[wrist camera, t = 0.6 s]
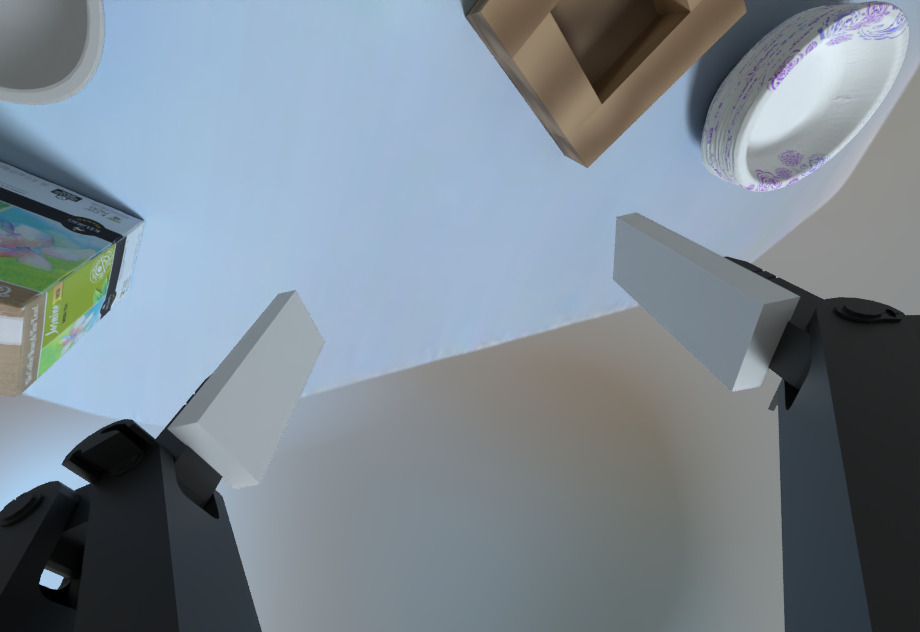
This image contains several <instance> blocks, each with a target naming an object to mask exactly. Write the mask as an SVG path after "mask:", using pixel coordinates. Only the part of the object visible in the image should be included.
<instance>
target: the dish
mask: <svg viewBox="0 0 920 632" xmlns="http://www.w3.org/2000/svg"><path fill="white" fill-rule="evenodd" d="M104 38H105V15H104V6H103V0H0V100H2V101H6V102H12V103H18V104H28V105H43V104H51V103H56V102H60V101H63V100H66V99H68V98H70V97H72V96H74V95H75V94H77V93H78V92H79V91H81V90H82V89H83V88H84V87H85V86H86V85H87V84H88V83H89V81H90V80H91V79H92V77H93V76H94V74H95V72H96V71H97V68H98V66H99V63H100V60H101V57H102V52H103V48H104Z"/></svg>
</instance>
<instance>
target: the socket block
mask: <svg viewBox="0 0 920 632" xmlns="http://www.w3.org/2000/svg"><path fill="white" fill-rule="evenodd" d="M746 12H747V10H746V6H745V1H744V0H477V1H476V2H475V4H474V5H473V6H472V8H471V9H470V11H469V12H468V13H467V15H466V16H465V17H466V19H467V20H468V22H469V23H470V24H471V26H472V27H473V28H474V30H475V31H476V33H477V34H478V35H479V37H480V38H481V40H482V41H483V42H484V44H485V45H486V47H487V48H488V49H489V51H490V52H491V54H492V55H493V56H494V58H495V59H496V60H497V62H498V63H499V65H500V66H501V67H502V69H503V70H504V72H505V73H506V74H507V76H508V77H509V79H510V80H511V81H512V83H513V84H514V86H515V87H516V88H517V90H518V91H519V92H520V94H521V95H522V97H523V98H524V99H525V101H526V102H527V104H528V105H529V106H530V108H531V109H532V111H533V112H534V113H535V115H536V116H537V118H538V119H539V120H540V122H541V123H542V124H543V126H544V127H545V129H546V130H547V131H548V133H549V134H550V136H551V137H552V138H553V140H554V141H555V143H556V144H557V145H558V147H559V148H560V150H561V151H562V152H563V154H564V155H565V156H567V157H569V158H570V159H572V160H574V161H576V162H578V163H579V164H581V165H583V166H585V167H587V168H588V167H589V166H590V165H591V164H592V163H593V162H594V161H595V160H596V159H597V158H598V157H599V156H600V155H601V154H602V153H603V152H604V151H605V150H606V149H607V148H608V147H609V146H610V145H611V144H613V143H614V142H615V141H616V140H617V139H618V138H619V137H620V136H621V135H622V134H623V133H624V132H625V131H626V130H627V129H628V128H629V127H630V126H631V125H632V124H633V123H634V122H635V121H636V120H637V119H638V118H639V117H640V116H641V115H642V114H643V113H644V112H645V111H646V110H647V109H648V108H649V107H650V106H651V105H652V104H653V103H654V102H655V101H656V100H657V99H658V98H659V97H660V96H662V95H663V94H664V93H665V92H666V91H667V90H668V89H669V88H670V87H671V86H672V85H673V84H674V83H675V82H676V81H677V80H678V79H679V78H680V77H681V76H682V75H683V74H684V73H685V72H686V71H687V70H688V69H689V68H690V67H691V66H692V65H693V64H694V63H695V62H696V61H697V60H698V59H699V58H700V57H701V56H702V55H703V54H704V53H705V52H706V51H707V50H708V49H709V48H711V47H712V46H713V45H714V44H715V43H716V42H717V41H718V40H719V39H720V38H721V37H722V36H723V35H724V34H725V33H726V32H727V31H728V30H729V29H730V28H731V27H732V26H733V25H734V24H735V23H736V22H737V21H738V20H739V19H740V18H741V17H742V16H743V15H744V14H745V13H746Z"/></svg>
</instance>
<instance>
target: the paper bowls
mask: <svg viewBox="0 0 920 632" xmlns="http://www.w3.org/2000/svg"><path fill="white" fill-rule="evenodd" d="M908 39H909V26H908V21H907V18H906V16H905V14H904V13H903V11H902V10H900V9H899V8H898V7H896V6H895V5H893V4H890V3H886V2H878V1H874V2H863V3H845V4H835V5H824V6H820V7H815V8H811V9H808V10H805V11H802V12H800V13H798V14H796V15H794V16H792V17H790V18H788V19H787V20H785V21H784V22H782V23H781V24H779V25H778V26H777V27H775V28H774V29H773V30H771V31H770V32H769V33H767V34H766V35H765V36H764V37H763V38H762V39H761V40H760V41H759V42H758V43H757V44H756V45H755V46H754V47H753V48H752V49H751V50H750V51H749V52H748V53H747V54H746V55H745V56H744V57H743V58H742V59H741V60H740V62H739V63H738V64H737V65H736V67H735V68H734V69H733V70H732V71H731V72H730V73H729V75H728V76H727V77H726V78H725V80H724V81H723V82H722V84H721V85H720V87H719V89H718V90H717V92H716V94H715V96H714V98H713V100H712V102H711V105H710V107H709V110H708V113H707V117H706V122H705V125H704V128H703V133H702V134H703V135H702V141H701V153H702V161H703V163H704V165H705V167H706V168H707V170H708V171H710V172H711V173H712V174H713V175H715V176H717V177H719V178H721V179H723V180H725V181H728V182H731V183H734V184H736V185H738V186H740V187H743V188H746V189H748V190H751V191H758V192H763V191H771V190H776V189H779V188H782V187H785V186H788V185H790V184H793V183H795V182H797V181H799V180H800V179H802V178H804V177H806V176H807V175H809V174H811V173H812V172H814V171H815V170H816V169H818V168H819V167H821V166H822V165H823V164H825V163H826V162H827V161H828V160H830V159H831V158H832V157H833V156H834V155H836V154H837V153H838V152H839V151H840V150H841V149H842V148H843V147H844V146H846V145H847V144H848V143H849V142H850V141H851V139H852V138H853V137H854V136H855V135H856V134H857V133H858V132H859V131H860V130H861V129H862V127H863V126H864V125H865V124H866V123H867V121H868V120H869V119H870V118H871V116H872V115H873V114H874V112H875V111H876V110H877V108H878V107H879V105H880V104H881V103H882V101H883V100H884V98H885V97H886V95H887V93H888V92H889V90H890V88H891V87H892V85H893V83H894V81H895V79H896V77H897V75H898V73H899V71H900V68H901V66H902V63H903V60H904V58H905V54H906V50H907V46H908Z"/></svg>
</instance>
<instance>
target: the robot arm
mask: <svg viewBox="0 0 920 632" xmlns="http://www.w3.org/2000/svg"><path fill="white" fill-rule="evenodd" d="M613 280H614V281H615V282H616V283H618V284H619V285H620V286H621V287H622V288H623V289H624V290H625V291H626V292H627V293H628V294H629V295H630V296H631V297H632V298H633V299H634V300H635V301H637V302H638V303H639V304H640V305H641V306H642V307H643V308H644V309H645V310H646V311H647V312H648V313H649V314H650V315H651V316H652V317H653V318H654V319H656V320H657V321H658V322H659V323H660V324H661V325H662V326H663V327H664V328H665V329H666V330H667V331H668V332H669V333H670V334H671V335H672V336H673V337H675V338H676V339H677V340H678V341H679V342H680V343H681V344H682V345H683V346H684V347H685V348H686V349H687V350H688V351H689V352H690V353H692V355H694V356H695V357H696V358H697V359H698V360H699V361H700V362H701V363H702V364H703V365H704V366H705V367H706V368H707V369H708V370H709V371H710V372H711V373H712V374H713V375H715V376H716V377H717V378H718V379H719V380H720V381H721V382H722V383H723V384H724V385H725V386H726V387H727V388H728V389H729V390H730V391H731V392H734V391H739V390H743V389H749V388H754V387H759V386H762V384H763V382H764V379H765V377H766V375H767V373H768V370H769V368H770V369H771V370H772V371H774V372H775V373H776V374H778V375H779V376H780V377H782V380H781V382H780V385H779V387H778V389H777V391H776V393H775V395H774V397H773V400H772V402H771V403H770V406H769V408H768V409H769V410H773V411H774V409H775V407H776V406H777V405H778V412H779V413H778V414H779V446H780V447H779V448H780V480H781V481H780V482H781V515H782V547H783V581H784V582H783V583H784V615H785V632H920V315H905V314H904V313H903V312H901V311H899V310H897V309H895V308H893V307H891V306H888V305H885V304H882V303H878V302H875V301H870V300H865V299H859V298H844V297H838V298H831V299H825V300H824V299H822V298H819V297H818V296H815V295H814V294H811V293H809V292H807V291H805V290H803V289H801V288H799V287H797V286H795V285H793V284H791V283H789V282H787V281H785V280H783V279H781V278H776V276H775V275H773V274H771V273H769V272H767V271H762V269H760V268H758V267H756V266H754V265H752V264H750V263H748V262H746V261H742V260H738V259H734V258H730V257H722V256H720V255H718V254H716V253H714V252H712V251H711V250H709V249H707V248H705V247H703V246H701V245H699V244H697V243H695V242H693V241H691V240H689V239H687V238H685V237H683V236H681V235H679V234H677V233H675V232H673V231H672V230H670V229H668V228H666V227H664V226H662V225H660V224H658V223H656V222H654V221H652V220H650V219H648V218H646V217H644V216H642V215H640V214H638V213H632V214H628V215H623V216H619V217H617V220H616V237H615V254H614V271H613ZM324 343H325V341H324V339H323V337H322V335H321V334H320V332H319V330H318V328H317V326H316V325H315V323H314V321H313V319H312V318H311V316H310V314H309V312H308V310H307V309H306V307H305V305H304V303H303V302H302V300H301V298H300V296H299V294H298V293H297V291H296V290H294V291H290V292H285V293H281V294H278V295H277V296H276V298H275V299H274V300H273V301H272V302H271V304H270V305H269V306H268V307H267V308H266V310H265V311H264V312H263V313H262V314H261V316H260V317H259V318H258V319H257V321H256V322H255V323H254V324H253V325H252V327H251V328H250V329H249V330H248V331H247V333H246V334H245V335H244V336H243V337H242V339H241V340H240V341H239V342H238V344H237V345H236V346H235V347H234V348H233V350H232V351H231V352H230V353H229V354H228V356H227V357H226V358H225V359H224V360H223V362H222V363H221V364H220V365H219V367H218V368H217V369H216V370H215V371H214V373H213V374H212V375H210V376H209V377H208V378H207V379H205V381H204V382H203V383H202V384H201V385H200V387H199V388H198V389H197V390H196V391H195V394H193V395H192V396H191V397H190V399H189V400H188V401H187V402H186V403H187V405H184V406H183V407H182V408H181V409H180V411H179V412H178V413H177V414H176V415H175V417H174V418H173V419H172V420H171V421H170V423H169V424H168V425H167V426H166V427H165V429H164V430H163V431H162V432H161V433H160V435H159V436H158V437H157V438H156V439H154V438H153V437H152V436H151V435H150V434H148V433H147V432H146V431H145V430H144V429H142V428H141V427H140V426H139V425H138V424H137V423H135V422H134V421H133V420H129V419H124V420H121V421H117V422H114V423H112V424H110V425H108V426H106V427H103V428H101V429H100V430H98V431H96V432H95V433H93V434H92V435H90V436H88V437H87V438H86V439H84V440H83V441H82V442H81V443H79V444H78V445H77V446H76V447H75V448H74V449H73V450H72V451H71V452H70V453H69V454H68V455H67V456H66V458H65V459H64V461H63V463H62V465H63V466H65V467H66V468H68V469H69V470H71V471H72V472H74V473H75V474H77V475H79V476H80V477H82V478H83V479H85V480H86V481H88V482H89V483H90V484H88V485H86V486H84V487H81V488H79V489H77V490H75V491H74V490H72V489H71V488H69V487H67V486H66V485H64V484H62V483H60V482H59V481H53V482H48V483H45V484H43V485H40V486H37V487H36V488H34V489H32V490H30V491H28V492H26V493H23V494H22V495H20V496H19V497H17V498H16V500H13V501H11V502H10V503H9V504H8V505H6V506H5V507H4V509H3V510H2V511H1V512H0V632H262V631H261V627H260V624H259V620H258V617H257V614H256V610H255V607H254V603H253V600H252V596H251V593H250V590H249V586H248V582H247V579H246V576H245V572H244V569H243V565H242V562H241V559H240V555H239V552H238V548H237V545H236V541H235V538H234V534H233V531H232V527H231V524H230V521H229V517H228V514H227V511H226V507H225V503H224V500H223V497H222V496H221V495H220V493H218V492H217V491H216V490H215V489H216V487H217V485H218V484H219V482H220V480H221V478H223V479H225V481H227V482H228V483H229V484H230V485H231V486H232V487H233V488H234V489H237V488H243V487H248V486H253V485H258V484H260V483H261V481H262V479H263V477H264V474H265V472H266V470H267V468H268V466H269V463H270V461H271V459H272V457H273V455H274V453H275V450H276V448H277V446H278V444H279V442H280V439H281V437H282V434H283V433H284V430H285V429H286V426H287V424H288V422H289V420H290V418H291V415H292V413H293V411H294V409H295V407H296V404H297V402H298V400H299V398H300V396H301V394H302V391H303V389H304V387H305V385H306V383H307V380H308V378H309V376H310V374H311V372H312V370H313V367H314V365H315V363H316V361H317V359H318V356H319V354H320V352H321V350H322V348H323V345H324ZM44 569H47V570H49V571H52V572H54V573H56V574H58V575H61V576H63V577H64V579H63V581H62V583H61V585H60V587H59V588H58V590H55V589H50V588H47V587H45V586H42V585H40V584H39V581H40V577H41V574H42V572H43V570H44Z"/></svg>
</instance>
